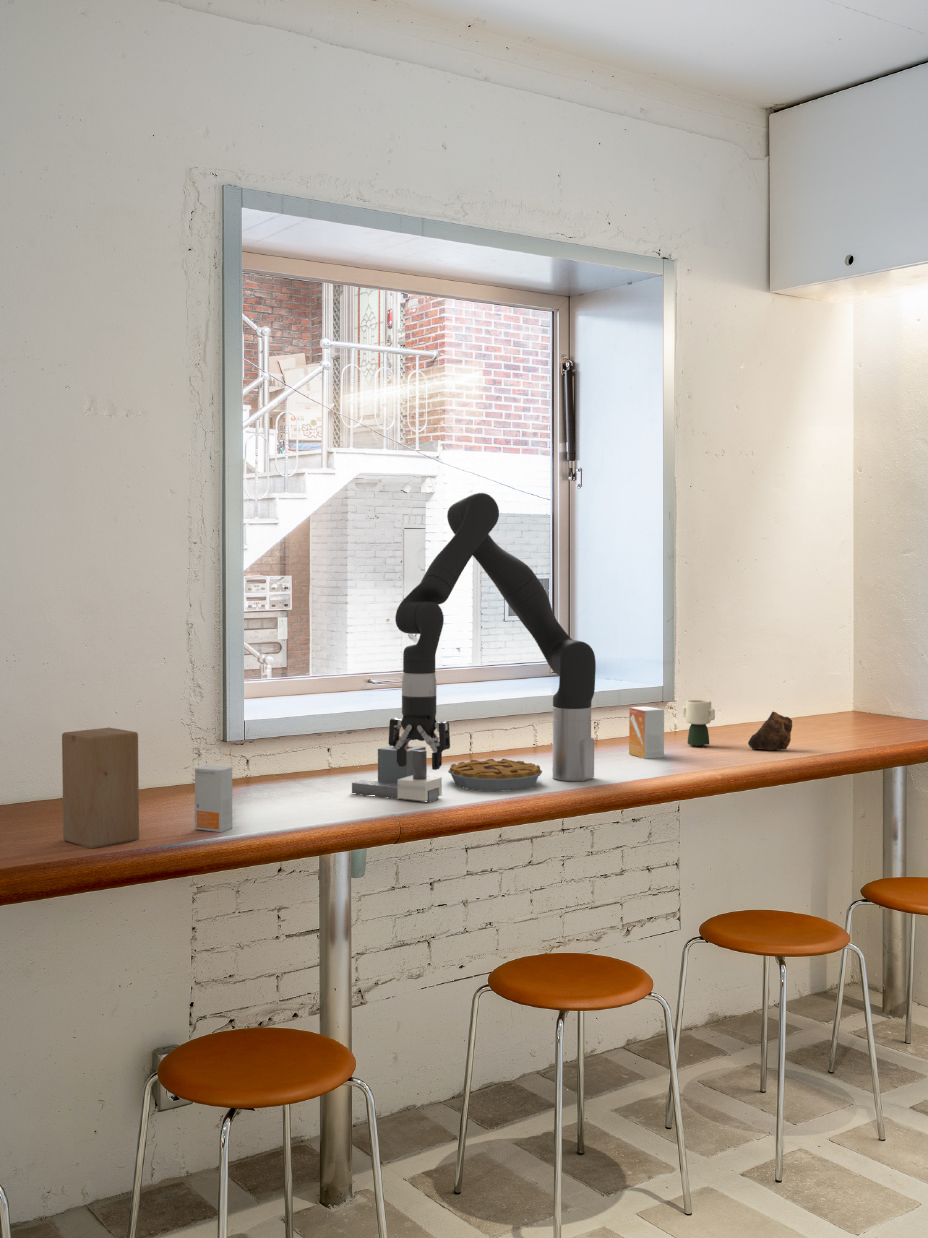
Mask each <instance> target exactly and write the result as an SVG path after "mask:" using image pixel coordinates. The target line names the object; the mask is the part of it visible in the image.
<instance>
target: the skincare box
mask: <svg viewBox="0 0 928 1238" xmlns="http://www.w3.org/2000/svg"><path fill="white" fill-rule="evenodd" d="M231 829H233V766H225V765H209V764H208V765H201V766H197V767H195V768H194V830H198V831H199V830H200V831H206V832H207V831H208V832H216V833H222V832H225V831H228V830H231Z"/></svg>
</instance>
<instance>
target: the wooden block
mask: <svg viewBox="0 0 928 1238" xmlns="http://www.w3.org/2000/svg"><path fill="white" fill-rule="evenodd" d="M138 733H139V732H137V731H131V730H127V729H126V730H125V729H120V728H113V727H102V728H93V729H84V730H74V731H65V732H62V735H61V757H62V760H61V764H62V771H61V772H62V830H63V831H62V834H63V835H62V836H63V837H62V838H63V840H64V841H66V842H69V843H72V844H75V845H79V846H81V847H86V848H88V849H97V848H101V847H108V846H111V845H116V844H117V845H118V844H122V843H129V842H131V841H132V842H133V841H137V840H139V839H140V808H139V807H140V804H139V803H140V802H139V801H140V799H139V797H140V795H139V792H140V791H139V788H140V787H139V783H140V782H139V781H140V780H139V734H138Z"/></svg>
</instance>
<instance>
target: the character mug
mask: <svg viewBox="0 0 928 1238" xmlns="http://www.w3.org/2000/svg"><path fill="white" fill-rule="evenodd" d="M682 717H684V718H685V722H686V723H688V724H689V728H688V736H687V745H690V746H694V745H695V746H701V747H702V746H703V747H704V746H705V745H709V746H710V735H709V734H710V733H709V729H708V726H707V725H708V724H710V723H711V722H712V721H715V718H716V710H715V709H714V708H712V701H711V700H707V699H687V700H686V701H685V705H683V707H682Z"/></svg>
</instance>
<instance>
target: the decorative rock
mask: <svg viewBox="0 0 928 1238" xmlns="http://www.w3.org/2000/svg"><path fill="white" fill-rule="evenodd" d="M792 730H793V720H792V719H791V718H790V717H788V716H783V715H781V714H779V713H778V712H775V711H772V712H771V714H769V717H768V718H767V720H765V721H764V723H763V724H762V725H761V727H760V728H758V730H757V731H756V732H755V733H754V734H752V735H751V737H750V738H749V740H748V742H747V744H748V746H749V748H750V749H751V748H752V749H751V750H759V749H761V750H765V749H766V751H769V750H770V751H776V750H775V749H778V750H779V749H780V750H781V749H783V750H787V749H788V747H789V745H790V744H791V741H792V739H791V733H792ZM757 748H759V749H757ZM780 750H779V751H780Z"/></svg>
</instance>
